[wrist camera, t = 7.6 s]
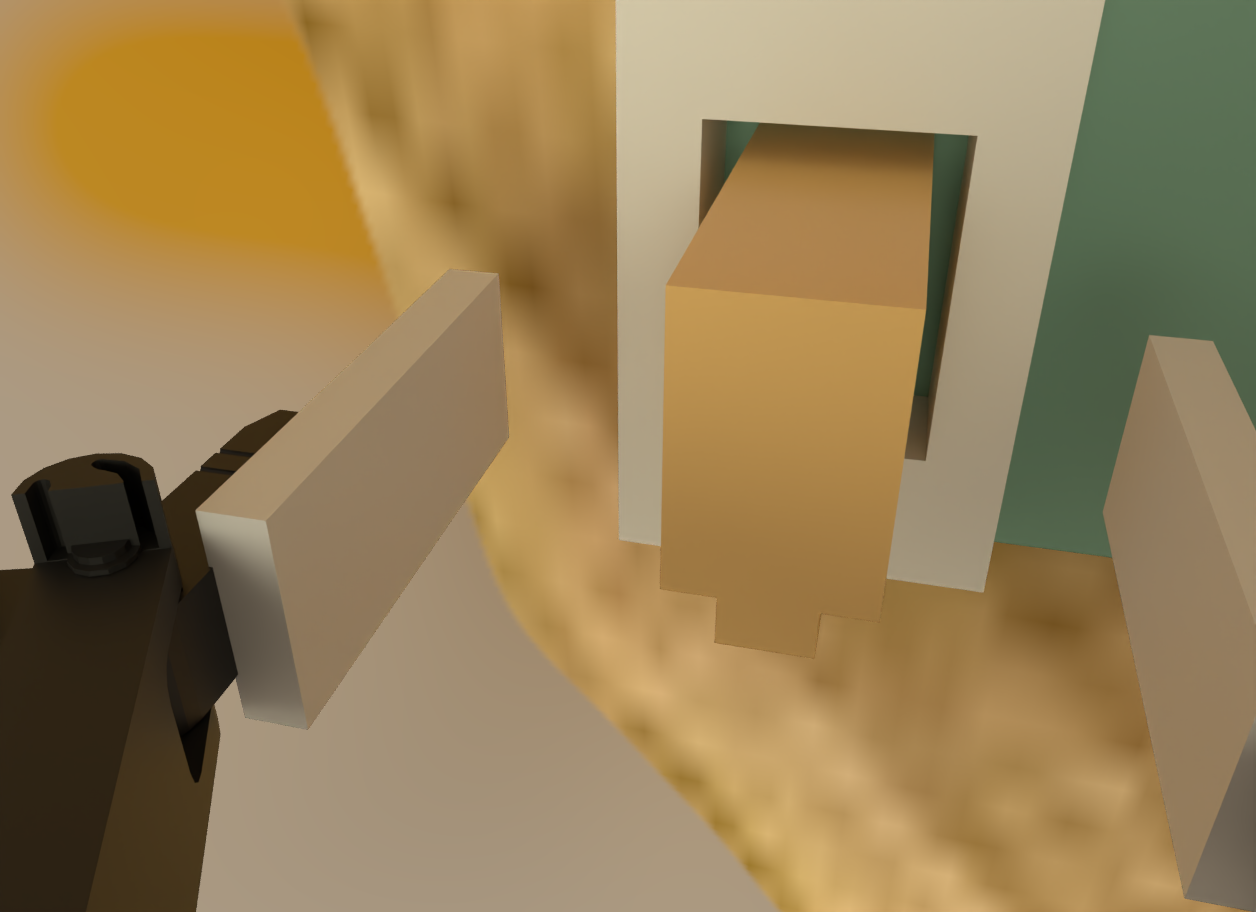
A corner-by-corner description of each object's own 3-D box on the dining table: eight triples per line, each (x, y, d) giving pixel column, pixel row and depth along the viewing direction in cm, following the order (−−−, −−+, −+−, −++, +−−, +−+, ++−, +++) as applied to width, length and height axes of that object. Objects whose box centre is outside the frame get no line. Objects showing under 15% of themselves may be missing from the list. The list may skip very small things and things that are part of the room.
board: (2212, -97, 15) (2523, -70, 12) (1745, 612, 21) (1875, 746, 18) (666, -122, 19) (614, -106, 16) (657, 472, 25) (619, 560, 22)
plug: (934, 130, 19) (926, 310, 12) (896, 401, 22) (873, 668, 15) (761, 119, 20) (665, 284, 13) (745, 384, 22) (659, 633, 16)
